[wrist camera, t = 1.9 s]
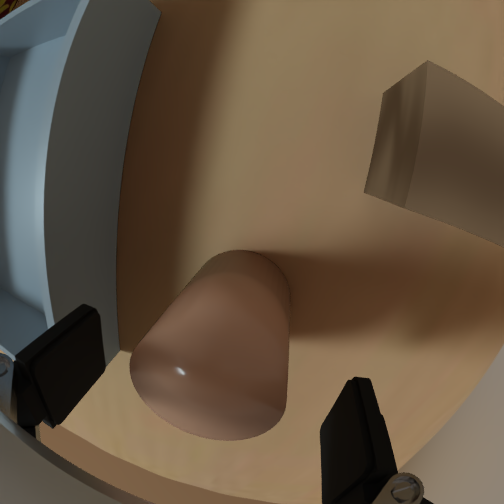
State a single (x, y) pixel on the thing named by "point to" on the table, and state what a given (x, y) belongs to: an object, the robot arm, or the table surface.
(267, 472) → the table surface
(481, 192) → the walnut block
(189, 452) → the table surface
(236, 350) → the canister
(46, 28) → the tote
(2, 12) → the decorative box
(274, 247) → the table surface
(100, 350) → the robot arm
